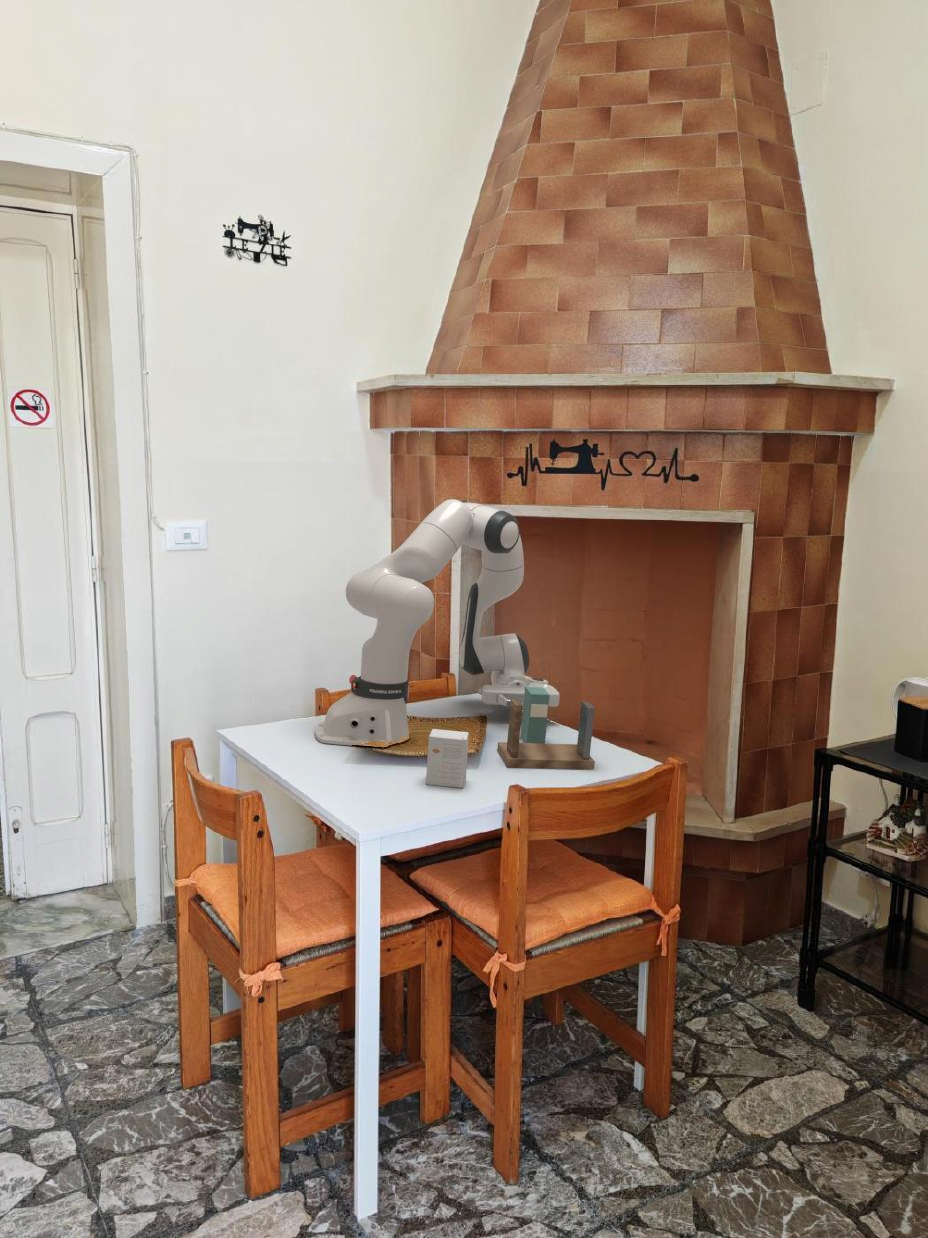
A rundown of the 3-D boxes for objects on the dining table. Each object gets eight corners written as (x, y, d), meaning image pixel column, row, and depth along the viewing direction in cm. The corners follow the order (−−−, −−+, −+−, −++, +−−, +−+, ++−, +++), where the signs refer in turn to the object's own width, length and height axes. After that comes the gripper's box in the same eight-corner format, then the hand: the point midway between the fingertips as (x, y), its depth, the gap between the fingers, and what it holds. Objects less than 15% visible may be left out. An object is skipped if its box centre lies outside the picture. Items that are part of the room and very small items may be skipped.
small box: (466, 779, 195) (470, 732, 193) (463, 789, 190) (467, 739, 188) (428, 775, 196) (432, 728, 194) (425, 784, 190) (428, 735, 189)
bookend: (582, 759, 208) (588, 708, 206) (576, 751, 214) (581, 701, 212) (589, 759, 209) (594, 708, 206) (582, 751, 214) (587, 701, 212)
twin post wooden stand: (507, 767, 205) (512, 706, 203) (497, 750, 217) (502, 692, 214) (593, 769, 208) (600, 709, 206) (579, 752, 220) (585, 695, 217)
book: (526, 747, 221) (531, 694, 219) (520, 737, 228) (525, 686, 226) (544, 747, 222) (549, 695, 219) (538, 738, 229) (542, 687, 226)
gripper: (477, 677, 244) (486, 690, 231) (552, 680, 248) (565, 693, 234) (475, 700, 245) (484, 714, 232) (550, 703, 249) (563, 717, 235)
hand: (526, 704), depth 233 cm, fingers open, 8 cm apart
